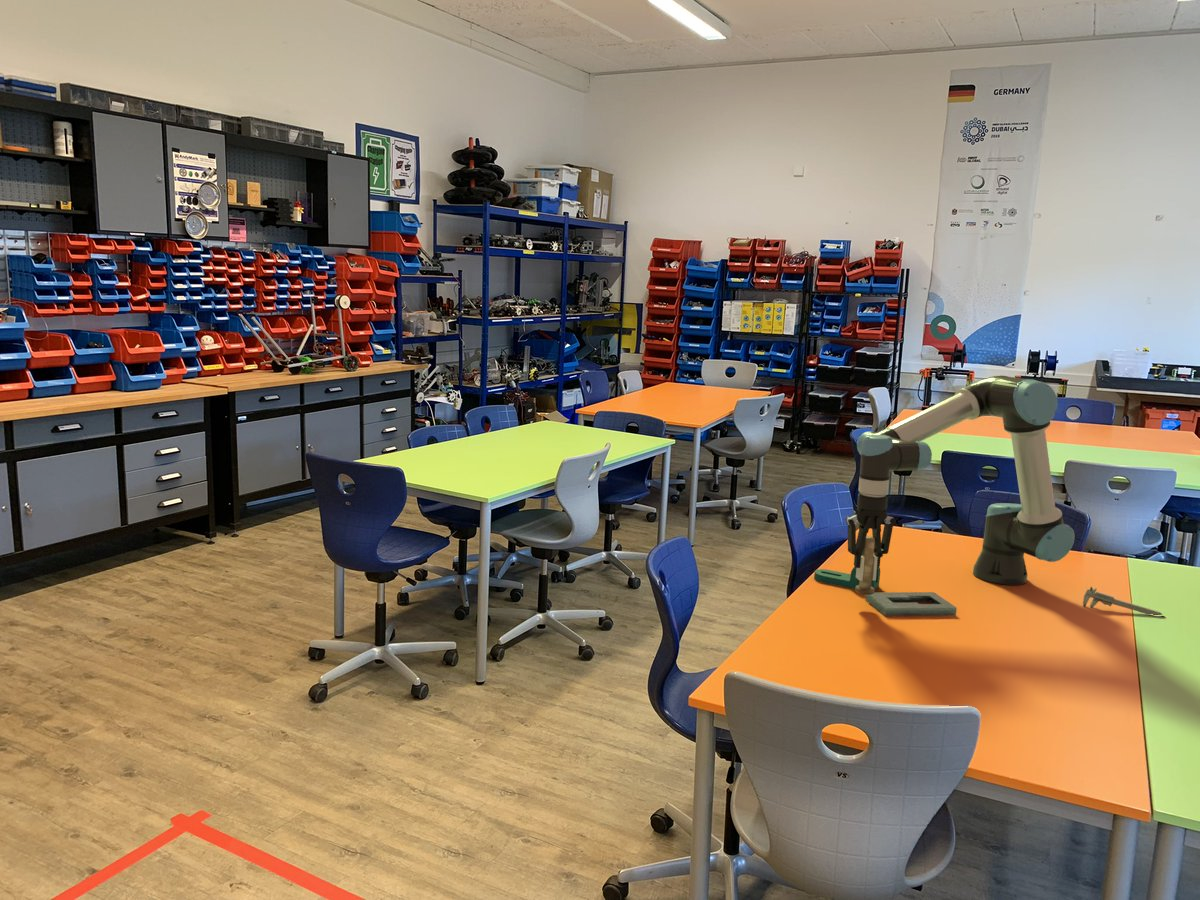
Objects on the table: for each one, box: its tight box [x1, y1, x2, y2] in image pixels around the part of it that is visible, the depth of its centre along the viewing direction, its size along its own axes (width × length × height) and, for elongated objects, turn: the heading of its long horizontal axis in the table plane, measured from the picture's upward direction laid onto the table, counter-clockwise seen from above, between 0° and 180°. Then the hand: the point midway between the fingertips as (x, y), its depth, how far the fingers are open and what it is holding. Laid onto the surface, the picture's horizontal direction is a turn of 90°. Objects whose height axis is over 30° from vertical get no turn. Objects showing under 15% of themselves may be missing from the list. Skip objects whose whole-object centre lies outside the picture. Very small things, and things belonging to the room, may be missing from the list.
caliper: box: [1082, 586, 1163, 615], centre depth 242 cm, size 20×1×6 cm, turn 73°
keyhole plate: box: [865, 591, 957, 617], centre depth 238 cm, size 20×12×2 cm, turn 98°
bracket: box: [813, 566, 881, 592], centre depth 256 cm, size 18×7×8 cm, turn 59°
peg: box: [854, 535, 875, 596], centre depth 234 cm, size 5×5×15 cm
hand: (865, 578), depth 235 cm, fingers closed on peg, 3 cm apart
